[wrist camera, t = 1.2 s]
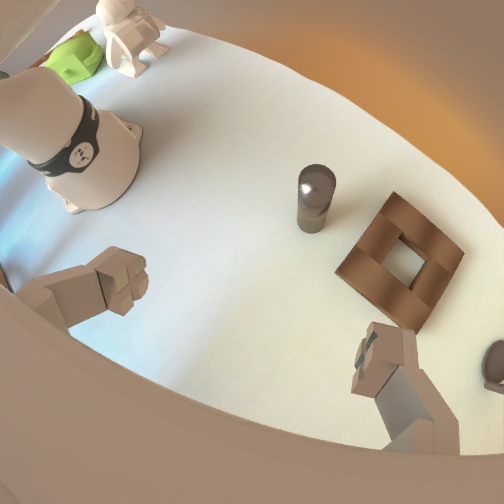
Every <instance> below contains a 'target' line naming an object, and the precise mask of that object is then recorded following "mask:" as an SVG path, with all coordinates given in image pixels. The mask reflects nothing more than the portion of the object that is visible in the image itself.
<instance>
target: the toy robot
mask: <svg viewBox="0 0 504 504" xmlns="http://www.w3.org/2000/svg"><path fill="white" fill-rule="evenodd" d="M96 14H97V16H98V18H99V19H100V21H101V22H102V24H103V25H105V26H108V27H107V28H105V29H104V34H105V36H106V38H107V40H108V41H107V47H106V59H107V63H108V65H109V66H110V67H112V68H114V69H118V68H119V67H120V65H121V61H122V58H124V59H126V60H128V61H127V62H126V63H125V64H124V65H123V66H122V67H121V68H120V69H119V70H118V72H119V73H122V74H124V75H127V76H130V77H133V78H136V77H137V76H139V75H140V74H141V73H142V72H143V71H144V70H145V69H146V68H147V66H146V65H144V64H142V63H141V62H140V60H139V53H141V54H144V55H146V56H149V57H152V58H154V59H158V58H159V57H160V56H161V55H163V54H164V53H165V52H166V51H167V50H168V48H167V47H165V46H162V45H159V44H157V43H156V42H155V40H157V39H158V38H159V37H160V32H159V30H161V31H164V30H165V24H164V22H162V21H161V20H159V19H158V18H156V17H153V16H150V15H149V14H148V13H147V12H146V11H145V10H144V9H142V8H139V7H134V3H133V0H100V1H99V3H98V4H97V6H96Z"/></svg>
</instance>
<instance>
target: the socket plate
mask: <svg viewBox="0 0 504 504" xmlns="http://www.w3.org/2000/svg"><path fill="white" fill-rule="evenodd" d="M398 238H399V239H400V240H402V241H403V242H404V243H405V244H406V245H407V246H409V247H410V248H411V249H412V250H413V251H414V252H416V253H417V254H418V255H419V256H420V257H421V258H422V259H424V260H425V263H424V264H423V266H422V268H421V269H420V271H419V272H418V274H417V276H416V277H415V279H414V280H413V282H412V284H411V285H410V287H409V288H407V287H406V286H404V285H403V284H402V283H401V282H400V281H399V280H397V279H396V278H395V277H394V276H393V275H392V274H390V273H389V272H388V271H387V270H386V269H384V268H383V267H382V266H381V265H380V264H381V262H382V261H383V260H384V258H385V257H386V255H387V254H388V252H389V251H390V249H391V248H392V246H393V245H394V243H395V242H396V240H397V239H398ZM464 254H465V253H464V252H463V251H462V250H461V249H460V248H459V247H458V246H457V245H456V244H455V243H454V242H453V241H451V240H450V239H449V238H448V237H447V236H446V235H445V234H444V233H443V232H442V231H441V230H439V229H438V228H437V227H436V226H435V225H434V224H433V223H432V222H430V221H429V220H428V219H427V218H426V217H425V216H424V215H422V214H421V213H420V212H419V211H418V210H416V209H415V208H414V207H413V206H412V205H410V204H409V203H408V202H407V201H406V200H404V199H403V198H402V197H401V196H399V195H398V194H397V193H395V192H394V191H393V193H392V194H391V195H390V197H389V198H388V200H387V201H386V202H385V204H384V205H383V207H382V208H381V210H380V211H379V213H378V214H377V215H376V217H375V218H374V220H373V221H372V223H371V224H370V225H369V227H368V228H367V230H366V231H365V232H364V234H363V235H362V236H361V238H360V239H359V241H358V242H357V243H356V245H355V246H354V247H353V249H352V250H351V251H350V253H349V254H348V255H347V257H346V258H345V259H344V261H343V262H342V263H341V265H340V266H339V267H338V269H337V270H336V271H335V272H334V273H335V274H336V275H338V276H339V277H340V278H341V279H343V280H344V281H345V282H346V283H347V284H349V285H350V286H351V287H352V288H354V289H355V290H356V291H357V292H358V293H360V294H361V295H362V296H363V297H365V298H366V299H367V300H368V301H369V302H371V303H372V304H373V305H374V306H375V307H377V308H378V309H379V310H380V311H381V312H383V313H384V314H385V315H386V316H387V317H388V318H390V319H391V320H392V321H393V322H394V323H396V324H397V325H398V326H399V327H400V328H405V329H410V330H414V332H415V335H417V333H418V332H419V330H420V329H421V327H422V326H423V324H424V323H425V321H426V320H427V318H428V317H429V315H430V314H431V312H432V310H433V309H434V307H435V306H436V304H437V302H438V301H439V299H440V297H441V296H442V294H443V292H444V291H445V289H446V287H447V285H448V284H449V282H450V280H451V278H452V276H453V275H454V273H455V271H456V269H457V267H458V265H459V263H460V261H461V259H462V258H463V256H464Z"/></svg>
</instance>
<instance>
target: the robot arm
mask: <svg viewBox="0 0 504 504" xmlns="http://www.w3.org/2000/svg"><path fill="white" fill-rule="evenodd" d="M58 2H59V0H0V64H1V63H2V62H3V61H4V59H5V58H6V57H7V56H8V55H9V54H10V53H11V52H12V51H13V50H14V49H15V48H16V47H17V46H18V45H19V44H20V43H21V42H22V41H23V40H24V39H25V38H26V37H27V36H28V35H29V34H30V33H31V32H32V31H33V30H34V29H35V28H36V26H37V25H38V24H39V23H40V22H41V20H43V18H44V17H45V16H46V15H47V14H48V13H49V12H50V10H51V9H52V8H53V7H54V6H55V5H56V4H57V3H58ZM141 136H142V128H140V127H139V126H138V125H135V124H132V123H129V122H126V121H123V120H120V119H118V118H117V117H116V116H115V115H114V114H113V113H112V112H106V111H102V110H96V109H95V108H94V107H93V105H92V104H91V103H90V102H89V101H88V100H87V99H85V98H84V97H83V96H81V95H77V94H76V93H75V92H74V91H73V89H72V88H71V87H70V86H69V85H68V84H67V83H66V82H65V81H64V80H63V79H62V78H61V77H60V76H59V74H58V73H57V72H56V71H55V70H53V69H51V68H48V67H33V68H29V69H27V70H24V71H22V72H20V73H18V74H16V75H14V76H12V77H10V78H7V79H2V80H0V145H2V146H4V147H6V148H8V149H10V150H11V151H13V152H15V153H17V154H18V155H20V156H22V157H23V158H25V159H27V161H28V163H29V164H30V165H31V166H32V167H33V168H34V169H35V170H36V171H38V172H39V173H41V174H43V175H44V177H45V178H46V183H47V185H48V188H49V189H50V190H51V191H53V192H54V193H56V194H57V195H59V196H60V197H62V199H63V201H64V204H65V206H66V209H67V211H68V212H69V213H71V214H76V213H79V212H81V211H83V210H86V209H100V208H103V207H105V206H107V205H109V204H111V203H112V202H114V201H115V200H116V199H118V198H119V197H120V196H121V195H122V194H123V193H124V192H125V190H126V189H127V188H128V187H129V185H130V184H131V182H132V180H133V178H134V176H135V174H136V172H137V169H138V165H139V159H140V152H139V142H140V139H141ZM145 268H146V260H145V258H144V257H143V256H141V255H138V254H135V253H132V252H129V251H127V250H124V249H120V248H118V247H115V246H111V247H109V248H108V249H106V250H105V251H103V252H102V253H101V254H99V255H98V256H97V257H96V258H94V259H93V260H92V261H90V262H89V263H88V264H86V265H85V266H84V265H80V266H76V267H72V268H69V269H65V270H62V271H58V272H55V273H51V274H48V275H44V276H41V277H37V278H34V279H32V280H31V281H30V282H29V283H27V284H26V285H25V286H24V287H22V288H21V289H20V290H19V291H17V292H16V293H15V294H14V295H13V294H12V293H11V292H10V291H8V290H7V289H6V288H5V287H3V286H2V285H1V284H0V504H504V453H502V454H489V455H460V446H459V424H458V420H457V419H456V417H455V416H454V414H453V413H452V411H451V410H450V408H449V407H448V405H447V404H446V402H445V401H444V399H443V398H442V396H441V395H440V393H439V392H438V390H437V389H436V388H435V386H434V385H433V383H432V382H431V380H430V379H429V378H428V376H427V375H426V373H425V372H424V371H423V369H419V364H418V353H417V343H416V335H415V332H414V330H410V329H405V328H398V327H394V326H390V325H385V324H381V323H377V322H371V323H370V325H369V327H368V329H367V335H366V338H364V339H362V341H361V343H360V345H359V348H358V351H357V354H356V359H355V365H354V366H355V368H356V370H357V371H356V372H355V374H354V376H353V381H352V389H351V393H353V394H358V395H362V396H366V397H371V398H375V399H374V400H375V402H376V405H377V407H378V409H379V412H380V414H381V416H382V419H383V421H384V424H385V426H386V428H387V431H388V433H389V436H390V438H391V440H392V442H391V443H389V444H388V445H387V446H386V447H385V448H383V449H382V450H375V449H368V448H362V447H356V446H350V445H344V444H339V443H334V442H329V441H324V440H320V439H315V438H311V437H307V436H303V435H299V434H295V433H291V432H287V431H284V430H280V429H277V428H273V427H270V426H266V425H263V424H260V423H257V422H253V421H250V420H247V419H244V418H241V417H238V416H235V415H233V414H230V413H227V412H224V411H222V410H219V409H216V408H214V407H211V406H208V405H206V404H203V403H201V402H198V401H196V400H193V399H191V398H189V397H186V396H184V395H181V394H179V393H177V392H175V391H172V390H170V389H168V388H166V387H164V386H161V385H159V384H157V383H155V382H153V381H151V380H149V379H147V378H145V377H143V376H141V375H139V374H137V373H135V372H133V371H131V370H129V369H127V368H125V367H123V366H121V365H119V364H118V363H116V362H114V361H112V360H110V359H109V358H107V357H105V356H103V355H102V354H100V353H98V352H96V351H95V350H93V349H91V348H90V347H88V346H86V345H85V344H83V343H81V342H80V341H78V340H77V339H75V338H73V337H72V336H71V335H70V333H69V330H68V328H70V327H72V326H74V325H76V324H78V323H81V322H83V321H85V320H87V319H89V318H91V317H94V316H96V315H98V314H100V313H102V312H104V311H107V309H108V310H110V311H112V312H114V313H117V314H119V315H121V316H125V315H126V314H127V312H128V311H129V310H130V309H131V308H132V307H133V306H134V301H135V300H138V299H141V298H142V297H143V296H144V294H145V293H146V291H147V288H148V283H149V280H148V275H147V274H146V272H145V271H144V269H145Z"/></svg>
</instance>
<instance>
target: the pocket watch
mask: <svg viewBox="0 0 504 504" xmlns="http://www.w3.org/2000/svg"><path fill="white" fill-rule="evenodd" d="M482 374H483V377H484V379H485V381H486V382H485V384H484V388H486V389H488V390H491V391H494V392H497V393H500V394H504V385H503V384H499V382H501V381H502V380H504V341H503V340H499V341H496V342H495V343H493V344H492V345H491V346H490V347H489V349H488V350H487V352H486V354H485V356H484V359H483V363H482Z"/></svg>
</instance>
